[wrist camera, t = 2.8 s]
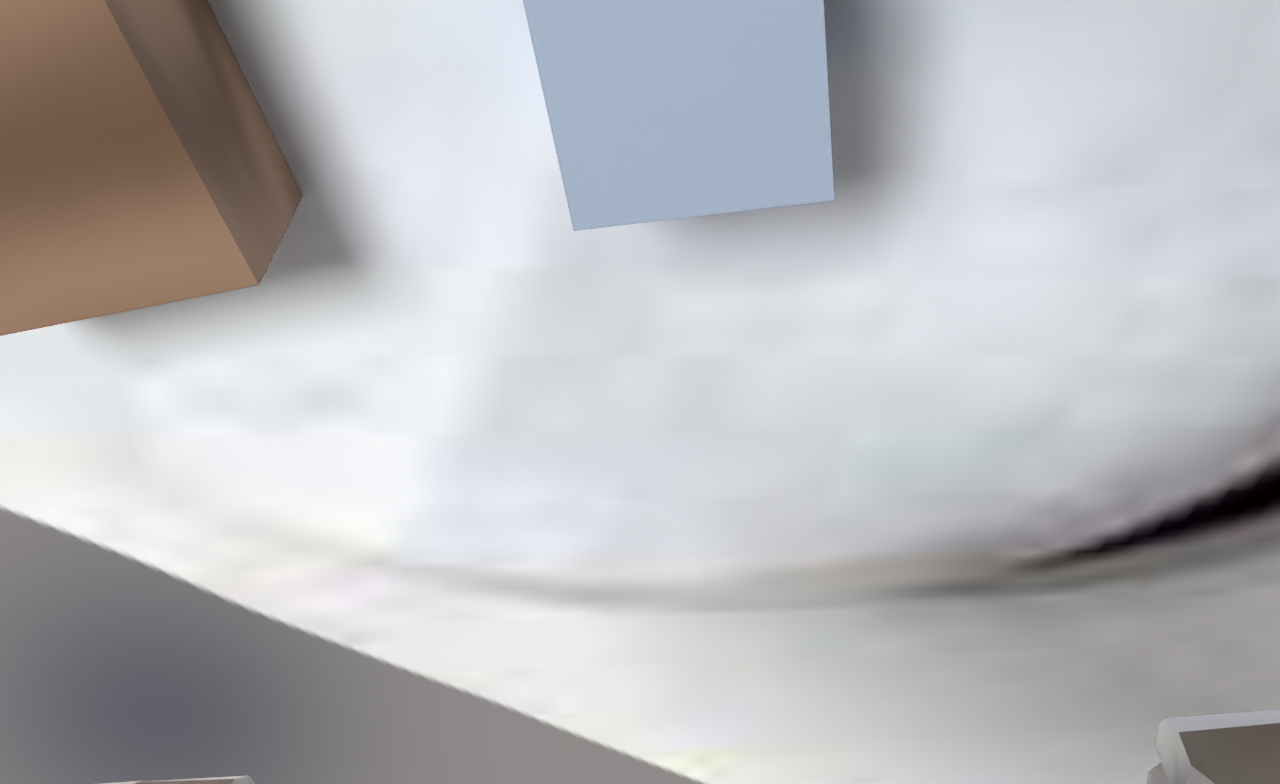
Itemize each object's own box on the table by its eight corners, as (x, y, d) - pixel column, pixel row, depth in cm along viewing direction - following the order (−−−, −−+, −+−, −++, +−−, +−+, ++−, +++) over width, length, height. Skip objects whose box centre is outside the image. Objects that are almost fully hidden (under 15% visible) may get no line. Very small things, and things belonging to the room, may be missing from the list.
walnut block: (-202, -63, 25) (-329, 12, 22) (139, -156, 23) (55, -90, 20) (13, 251, 30) (-65, 348, 26) (305, 189, 28) (258, 285, 25)
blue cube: (544, -117, 23) (517, -24, 19) (796, -155, 23) (820, -68, 19) (589, 112, 26) (573, 231, 23) (811, 83, 26) (834, 199, 22)
